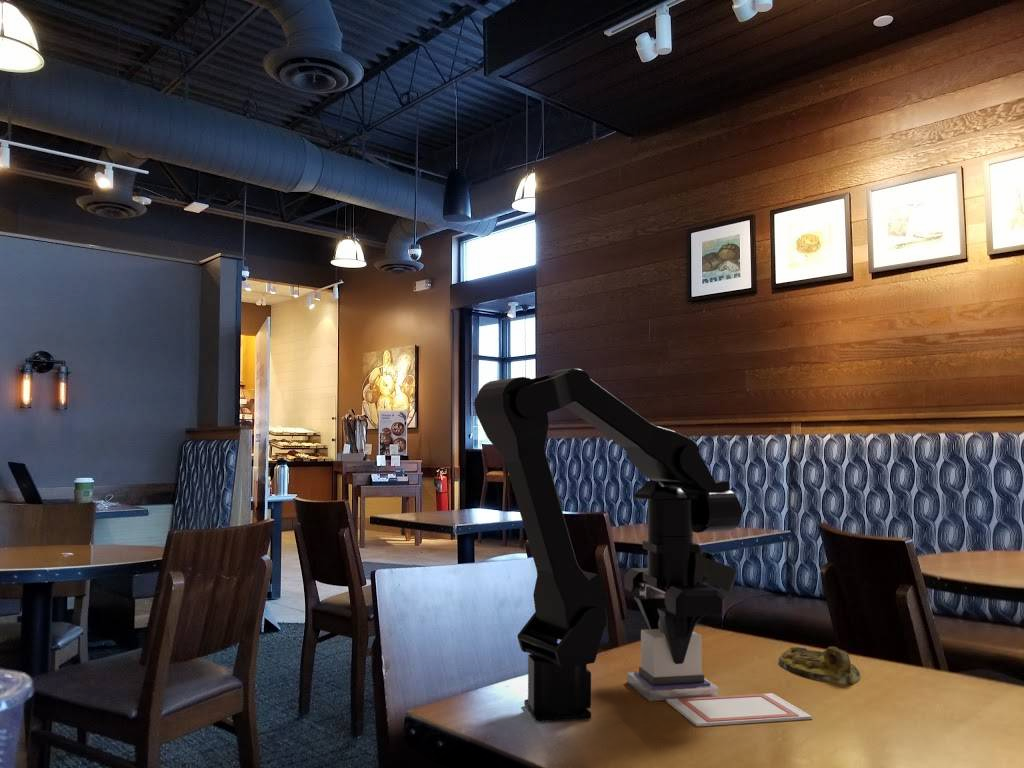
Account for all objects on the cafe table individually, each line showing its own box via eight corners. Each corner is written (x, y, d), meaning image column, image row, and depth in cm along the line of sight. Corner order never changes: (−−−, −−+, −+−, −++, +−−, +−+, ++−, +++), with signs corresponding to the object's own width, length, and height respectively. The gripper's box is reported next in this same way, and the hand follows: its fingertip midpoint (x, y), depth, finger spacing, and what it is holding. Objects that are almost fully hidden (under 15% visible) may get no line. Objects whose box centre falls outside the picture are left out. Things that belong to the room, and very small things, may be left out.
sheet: (696, 726, 87) (696, 722, 87) (666, 701, 95) (666, 698, 95) (811, 719, 90) (811, 715, 90) (772, 695, 98) (772, 692, 98)
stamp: (704, 681, 99) (703, 614, 99) (652, 684, 97) (652, 616, 98) (688, 671, 103) (687, 607, 104) (639, 673, 102) (638, 608, 103)
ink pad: (649, 701, 95) (649, 688, 96) (626, 681, 103) (626, 670, 103) (718, 697, 97) (718, 685, 97) (691, 678, 105) (691, 667, 105)
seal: (761, 666, 117) (821, 696, 102) (757, 633, 117) (817, 659, 102) (817, 655, 119) (884, 683, 104) (813, 623, 119) (879, 647, 104)
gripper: (764, 542, 94) (766, 676, 93) (697, 526, 113) (698, 638, 111) (677, 543, 92) (678, 681, 91) (623, 527, 110) (623, 642, 109)
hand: (671, 658), depth 101 cm, fingers closed on stamp, 4 cm apart
